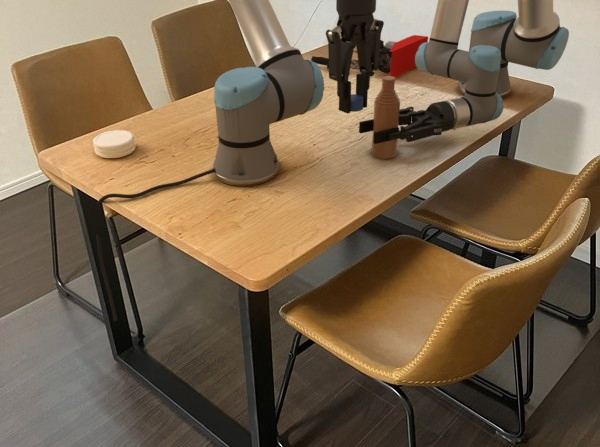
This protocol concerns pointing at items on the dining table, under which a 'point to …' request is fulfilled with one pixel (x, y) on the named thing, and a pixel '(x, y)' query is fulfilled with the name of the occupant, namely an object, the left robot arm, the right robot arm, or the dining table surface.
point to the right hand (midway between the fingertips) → (367, 132)
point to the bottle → (386, 117)
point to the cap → (356, 103)
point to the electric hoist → (391, 55)
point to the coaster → (114, 144)
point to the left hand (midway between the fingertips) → (352, 108)
